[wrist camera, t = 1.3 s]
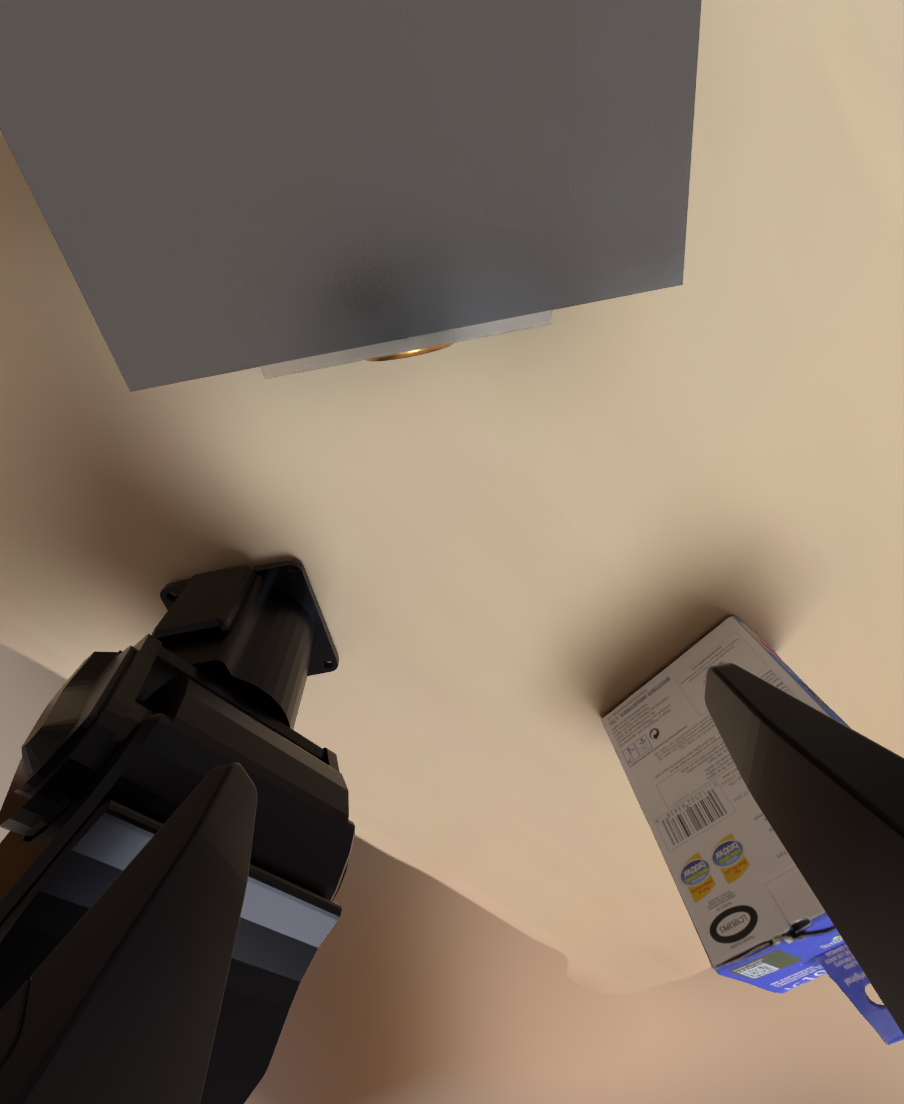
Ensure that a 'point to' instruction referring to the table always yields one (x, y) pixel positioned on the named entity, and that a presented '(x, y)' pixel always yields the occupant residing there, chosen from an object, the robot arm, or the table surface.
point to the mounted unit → (348, 168)
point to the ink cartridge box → (730, 828)
